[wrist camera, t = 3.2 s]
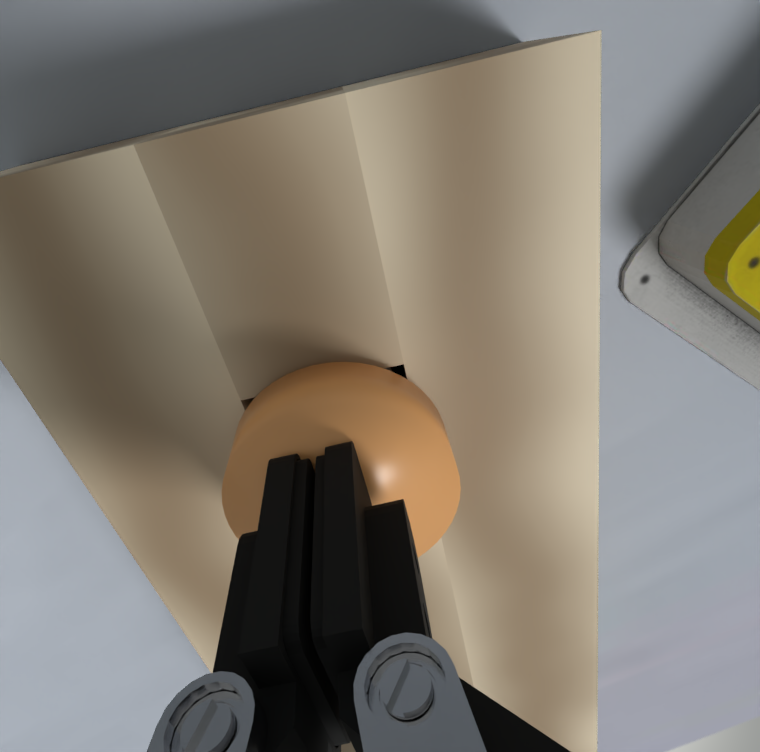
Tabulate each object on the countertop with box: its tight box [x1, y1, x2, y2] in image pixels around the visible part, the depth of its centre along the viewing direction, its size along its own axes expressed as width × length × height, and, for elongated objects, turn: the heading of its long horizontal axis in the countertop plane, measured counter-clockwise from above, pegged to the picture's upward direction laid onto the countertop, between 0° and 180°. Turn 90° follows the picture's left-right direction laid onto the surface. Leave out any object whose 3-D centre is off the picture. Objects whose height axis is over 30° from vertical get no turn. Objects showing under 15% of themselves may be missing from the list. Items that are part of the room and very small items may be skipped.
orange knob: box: [222, 362, 461, 558], centre depth 13 cm, size 5×5×6 cm
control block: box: [0, 30, 601, 752], centre depth 17 cm, size 12×28×4 cm, turn 12°
